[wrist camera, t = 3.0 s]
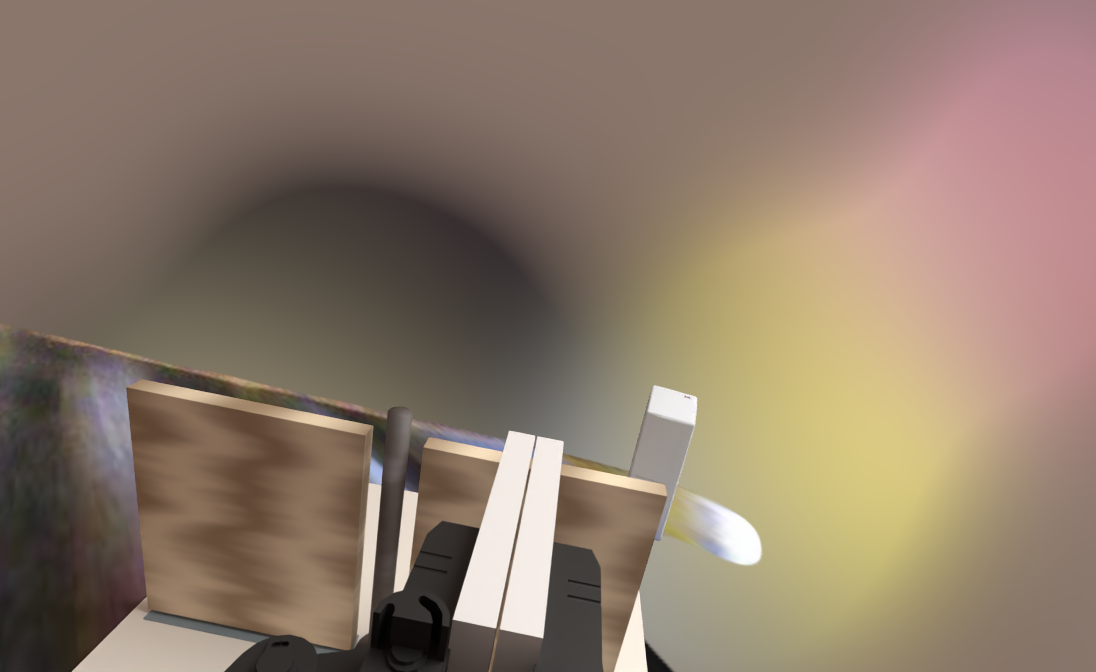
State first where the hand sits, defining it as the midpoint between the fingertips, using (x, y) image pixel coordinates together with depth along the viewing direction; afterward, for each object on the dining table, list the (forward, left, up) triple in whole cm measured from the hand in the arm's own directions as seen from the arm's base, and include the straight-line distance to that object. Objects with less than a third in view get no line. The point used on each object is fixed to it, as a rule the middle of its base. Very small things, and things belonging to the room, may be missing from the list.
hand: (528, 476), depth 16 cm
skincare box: (+11, +29, -22) cm, 38 cm away
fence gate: (+1, +10, -21) cm, 24 cm away
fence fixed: (-13, +10, -22) cm, 28 cm away
